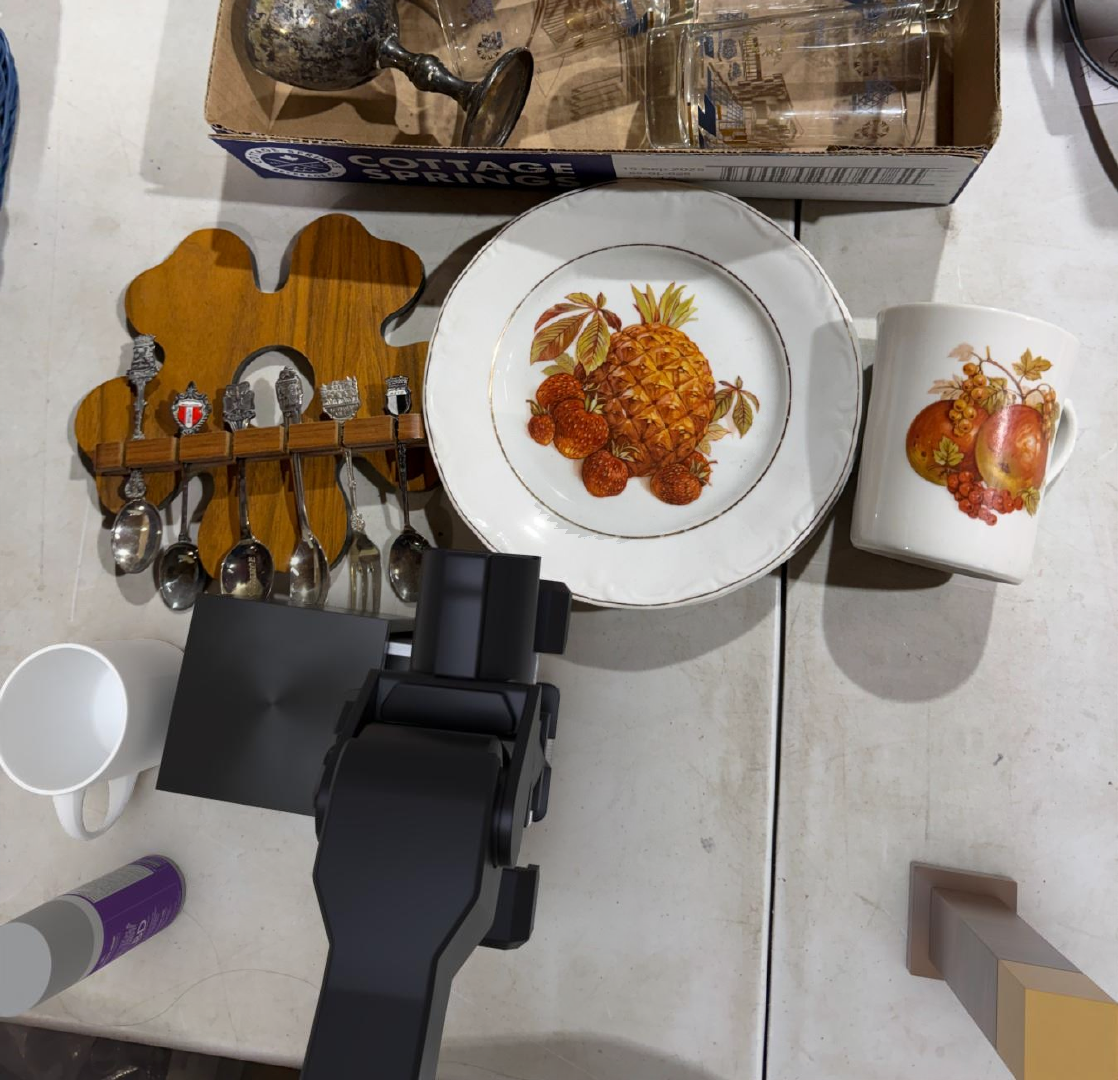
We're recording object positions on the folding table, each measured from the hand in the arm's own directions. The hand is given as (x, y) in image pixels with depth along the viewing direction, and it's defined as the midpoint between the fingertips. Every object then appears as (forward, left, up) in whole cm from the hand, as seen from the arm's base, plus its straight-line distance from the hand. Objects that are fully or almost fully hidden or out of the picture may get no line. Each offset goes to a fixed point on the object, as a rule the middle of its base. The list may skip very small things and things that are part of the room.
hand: (519, 731), depth 64 cm
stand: (-8, -28, -4) cm, 29 cm away
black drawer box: (0, +15, -4) cm, 15 cm away
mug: (-4, +27, -4) cm, 27 cm away
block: (-8, -28, +12) cm, 32 cm away
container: (-14, +24, -4) cm, 28 cm away
